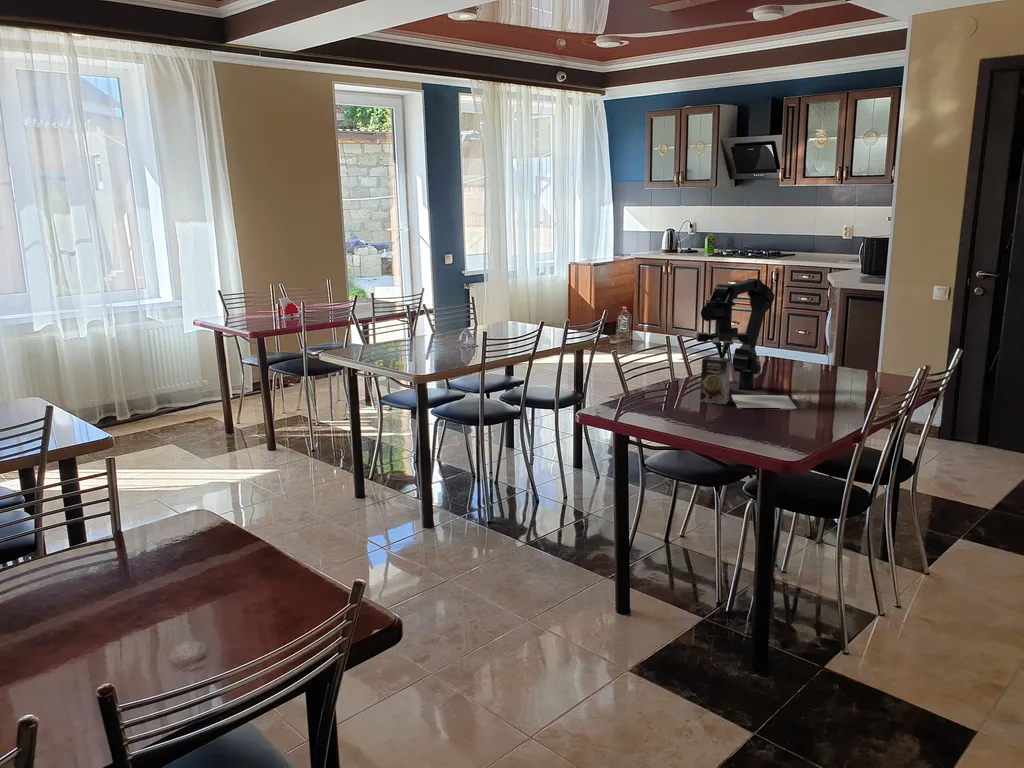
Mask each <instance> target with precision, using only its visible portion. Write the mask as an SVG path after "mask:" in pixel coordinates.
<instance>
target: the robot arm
mask: <svg viewBox="0 0 1024 768" xmlns="http://www.w3.org/2000/svg"><path fill="white" fill-rule="evenodd" d="M744 293H747V296H748V297H749V304H750V305H749V306H750V308H751V311H750V312H751V313H750V316H749V318H748V319H749V320H748V322H747V326H746V330H745V332H739V328H738V327H733V326H732V319H733V318H732V317H733V316H732V315H733V307H735V306H736V303H735V302H734V300H736V299H737V298H739V297H738V296H739V295H742V294H744ZM774 300H775V294H774V292H773V290H772V289H771V288H770V286H768V285H766V284H764V283H763V281H762V280H761V279H759V278H747V279H746V280H741V281H739V282H735V283H732V284H730V283H728V284H726V283H725V284H724V283H719V284H716V285H715V288H713V290H712V293H711V295H710V297H709V300H708V301H706V302H705V305H704V306H703V307H702V308H701V311H700V316H701V319H703V321H706V322H712V321H715V322H714V324H715V325H714V326H715V327H714V334H709V333H708V332H699V331H698V332H697V333H696V334H695V336H696V337H695V340H696V341H697V342H698V343H707V342H708V341H711V343H712V344H713V345H715V347H716V350H717V353H718V358H725V356H726V354H727V351H728V349H729V348H730V346H731V345H734V341H739V342H741V343H742V345H741V346H739V347H736V348H735V349H734V354H733V356H732V367H733V368H732V369H733V372H737V373H738V384H736V387H737V388H738V389H739V390H756V386H755V375H758V374H760V372H761V366H760V364H759V363H758V361H757V358H758V355H757V351H756V346H757V342H758V338H759V335H760V331H761V328H762V324H763V321H764V317H765V314H766V312H767V311H769V310H770V309H771V307H772V305H773V303H774Z"/></svg>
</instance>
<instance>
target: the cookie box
mask: <svg viewBox="0 0 1024 768" xmlns="http://www.w3.org/2000/svg"><path fill="white" fill-rule="evenodd" d="M730 374H731V358H729V357H724V358H720V357H715V356H705V357H704V358H702V359H701V378H700V379H701V382H700V383H701V384H700V403H702V402H705V404H712V403H716V405H722V404H724V406H725V405H726V404H727V403H728V402H729V394H730Z"/></svg>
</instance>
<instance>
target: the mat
mask: <svg viewBox="0 0 1024 768" xmlns="http://www.w3.org/2000/svg"><path fill="white" fill-rule="evenodd" d="M731 398H732V401H733V402H735V403H734V405H735V404H736V405H735V406H737V407H736V409H742V408H780V409H779V410H793V409H797V406H796V405H795V404H794V402H793V400H791V398H790V397H789V396H788V395H765V394H764V395H763V394H761V395H760V394H731Z"/></svg>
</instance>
